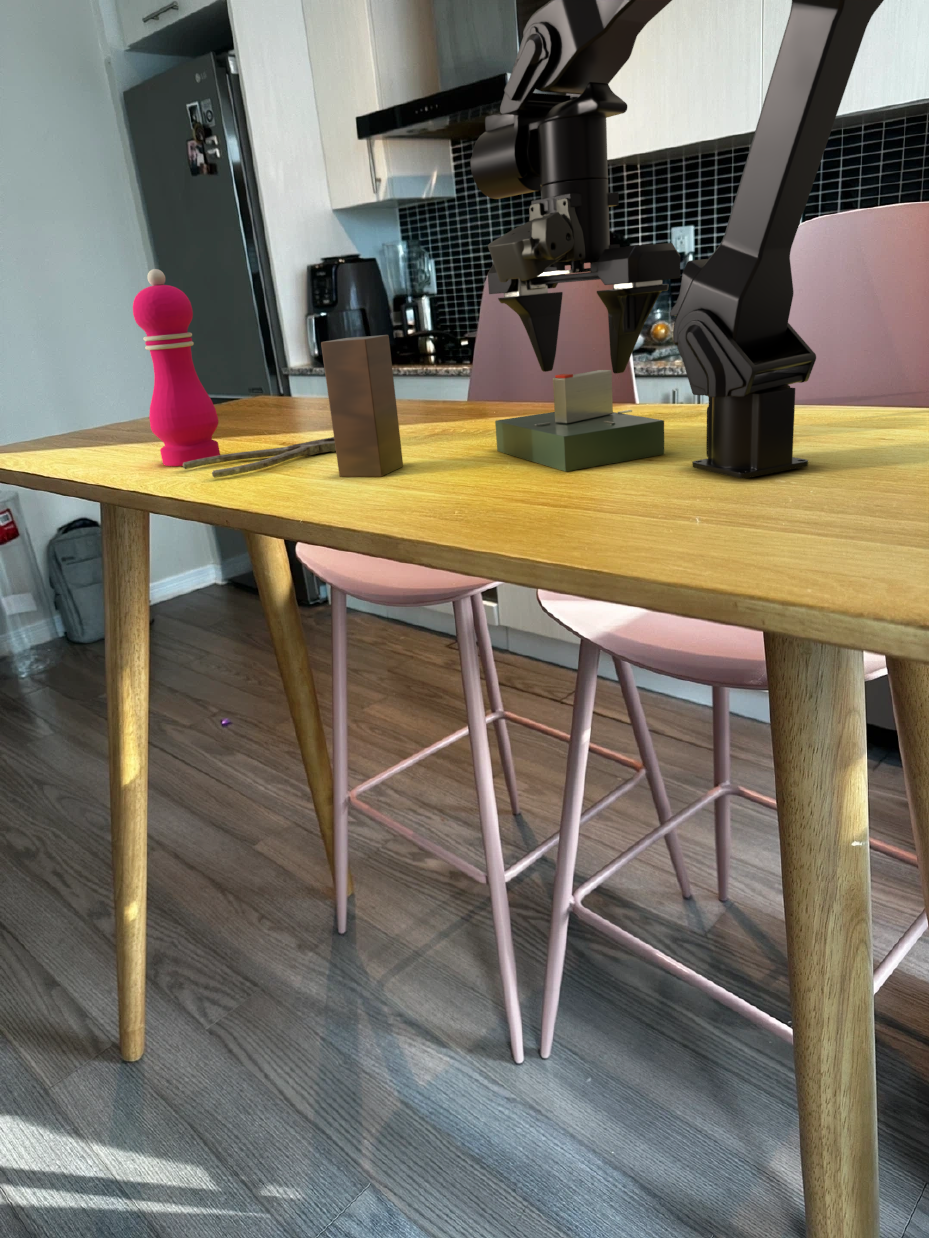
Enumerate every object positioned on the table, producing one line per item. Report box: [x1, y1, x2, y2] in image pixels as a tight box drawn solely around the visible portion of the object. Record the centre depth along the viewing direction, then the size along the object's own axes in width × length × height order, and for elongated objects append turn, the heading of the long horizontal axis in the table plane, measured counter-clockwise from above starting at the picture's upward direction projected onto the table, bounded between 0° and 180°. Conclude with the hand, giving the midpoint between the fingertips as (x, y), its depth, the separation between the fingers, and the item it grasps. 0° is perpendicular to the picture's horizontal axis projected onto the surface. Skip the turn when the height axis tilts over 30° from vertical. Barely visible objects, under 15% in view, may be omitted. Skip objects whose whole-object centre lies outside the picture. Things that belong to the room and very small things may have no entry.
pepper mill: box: [132, 268, 221, 467], centre depth 95 cm, size 7×7×20 cm
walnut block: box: [320, 334, 404, 478], centre depth 81 cm, size 4×4×12 cm
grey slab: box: [552, 369, 614, 424], centre depth 81 cm, size 6×2×4 cm, turn 127°
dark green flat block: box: [494, 409, 665, 472], centre depth 83 cm, size 14×11×3 cm
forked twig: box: [182, 436, 336, 479], centre depth 95 cm, size 10×1×20 cm
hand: (581, 372), depth 81 cm, fingers open, 9 cm apart
